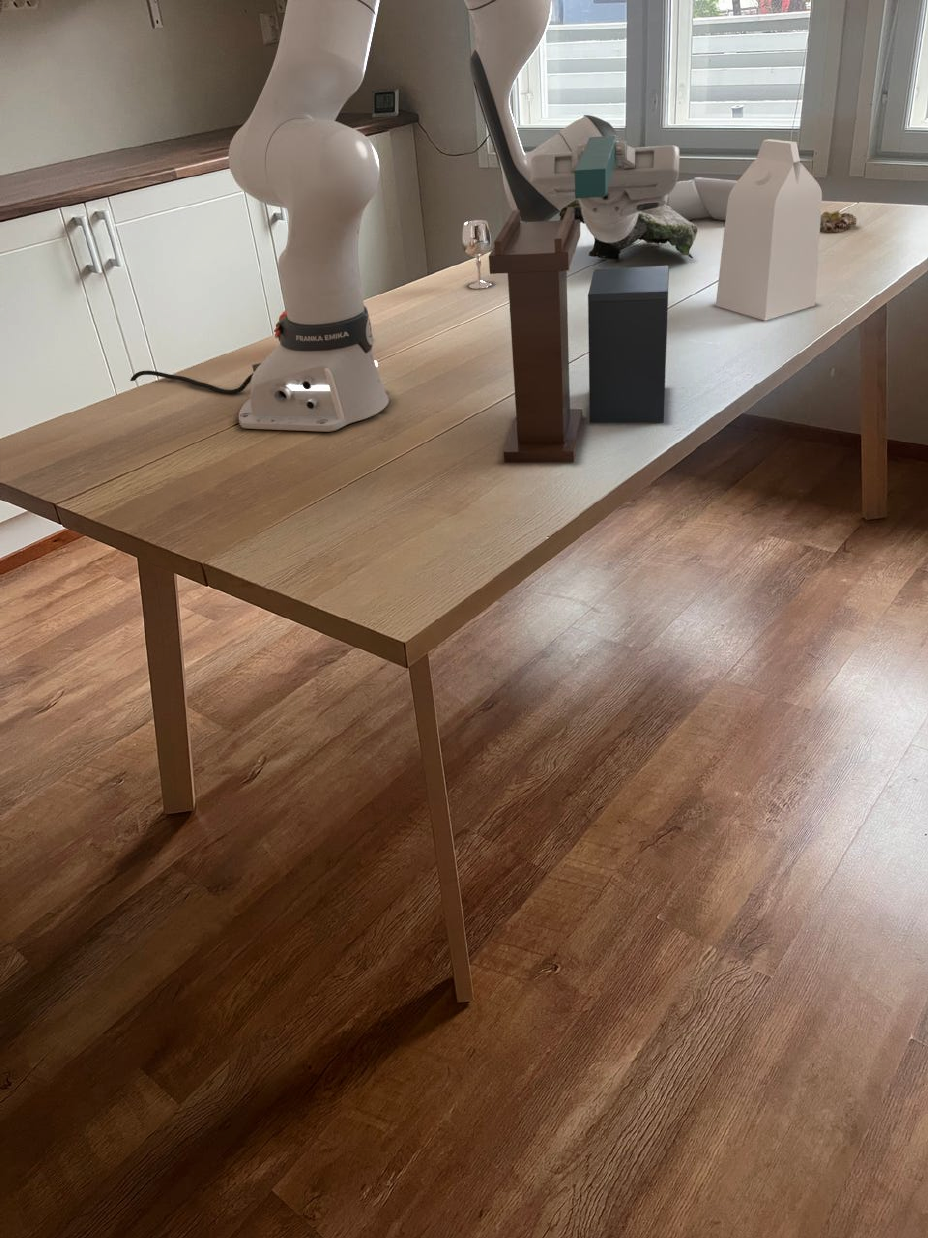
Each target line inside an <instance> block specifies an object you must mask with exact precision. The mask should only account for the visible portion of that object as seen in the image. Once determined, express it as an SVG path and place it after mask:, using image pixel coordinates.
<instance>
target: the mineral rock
mask: <svg viewBox="0 0 928 1238" xmlns="http://www.w3.org/2000/svg"><path fill="white" fill-rule="evenodd" d="M857 219H858V218H857V216H855V215H854V214H853V213H849V212H843V213H840V211H839V210H835V211H832V212H828V211H825V212H823V213H821V221H820V232H821V231H822V232H826V233H842V232H844V231H847V230H850V229H853V228H854V227H856V225H857Z"/></svg>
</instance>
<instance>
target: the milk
mask: <svg viewBox="0 0 928 1238" xmlns="http://www.w3.org/2000/svg"><path fill="white" fill-rule="evenodd" d="M799 153H800V152H799V148H798V142H797V141H790V140H782V139H772V138H767V139H764V140H762V143H761V145H760V148H759V150H758V153H757V156H756V159H754V160H753V161H752V163H751V164H750V165H749V167H748V168H747V169H746V170H745V172H743V174H742V175H741V176H740V178H739V179H738V180H736V181H737V183H736V184H735V185H734V187H733V188H732V190H731V192H730V194H729V198H728V204H727V212H726V220H724V221H725V222H724V229H723V239H722V248H721V258H720V265H719V272H718V273H719V274H718V282H717V291H716V292H717V293H716V298H715V299H716V301H715V306H716V307H719V308H722V309H726V310H728V311H731V312H736V313H739V314H742V315H745V316H748V317H752V318H754V319H758V320H762V321H764V322H766V321H769V320H772V319H776V318H779V317H782V316H785V315H789V314H792V313H795V312H799V311H802V310H804V309H809V308H811V307H815V306H816V300H817V299H816V297H817V281H818V266H819V264H818V263H819V251H820V250H819V249H820V237H821V236H820V235H821V231H820V221H821V215H822V206H823V205H822V204H823V203H822V202H823V191H822V188H821V186H820V184H819V183H818V181H817V180H816V179H815V178H814V176H813V175H812V174H811V173H810V172H809V170H807V168H806V167H805V166H804V164H803V163H802V162H800V161H801V158H800V154H799Z"/></svg>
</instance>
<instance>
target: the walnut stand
mask: <svg viewBox="0 0 928 1238" xmlns="http://www.w3.org/2000/svg"><path fill="white" fill-rule="evenodd" d="M580 239H581V223H580V219H579V220H574V207H568V209H567V211H566V213H565V216H564V218H563V220H560V219H559V220H549V221H540V222H523V221H521V220H520V210H514V211H513V210H512V212H511V214H510V215H509V217H508V219H507V220H506V222H505V223H504V225H503V226H502V228H501V229H500V231H499V233H498V235H496V238H495V240H494V241H493V248H492V250H491V251H490V253H489V255H488V267H489V268H488V269H489V274H490V275H497V274H498V275H499V274H507V282H508V300H509V301H508V302H509V315H510V316H509V318H510V335H511V351H512V368H513V386H514V387H513V388H514V404H515V418H514V421H513V424H512V427H511V430H510V432H509V436H508V439H507V441H506V444H505V446H504V451H503V462H504V463H575V459H576V455H577V449H578V445H579V440H580V435H581V430H582V424H583V420H584V409H583V408H571V395H570V394H571V393H570V392H571V391H570V389H571V388H570V353H569V352H570V351H569V350H570V349H569V318H568V317H569V315H568V314H569V312H568V310H569V309H568V278H567V277H568V276H567V275H568V274H567V272H569V270H570V267H571V265H572V261H573V259H574V255H575V253H576V250H577V247H578V244H579V241H580Z"/></svg>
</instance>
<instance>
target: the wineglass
mask: <svg viewBox="0 0 928 1238" xmlns="http://www.w3.org/2000/svg"><path fill="white" fill-rule="evenodd" d="M461 234H462V235H461V242H462V248H463V251H464V253H465V254H466V255H468V256H470V257H473V258H476V259H475V265H476V268H477V277H478V278H477V281H476V282H473V283H471V284H469V285H468V287H469V289H475V290H479V289H481V290H482V289H487V288H489V287H491V286H492V283H491V282H488V281H483V280H482V277H481V265H482V261H481V259H480V258H481V257H483V256H485V255H487V254H488V253H489V252H490V250H491V249H492V248H491V247H492V233H491V230H490V225H489V223H488V220H485V219H484V220H483V219H475V220H469V221H466V222H464V223H463V226H462V233H461Z"/></svg>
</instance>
